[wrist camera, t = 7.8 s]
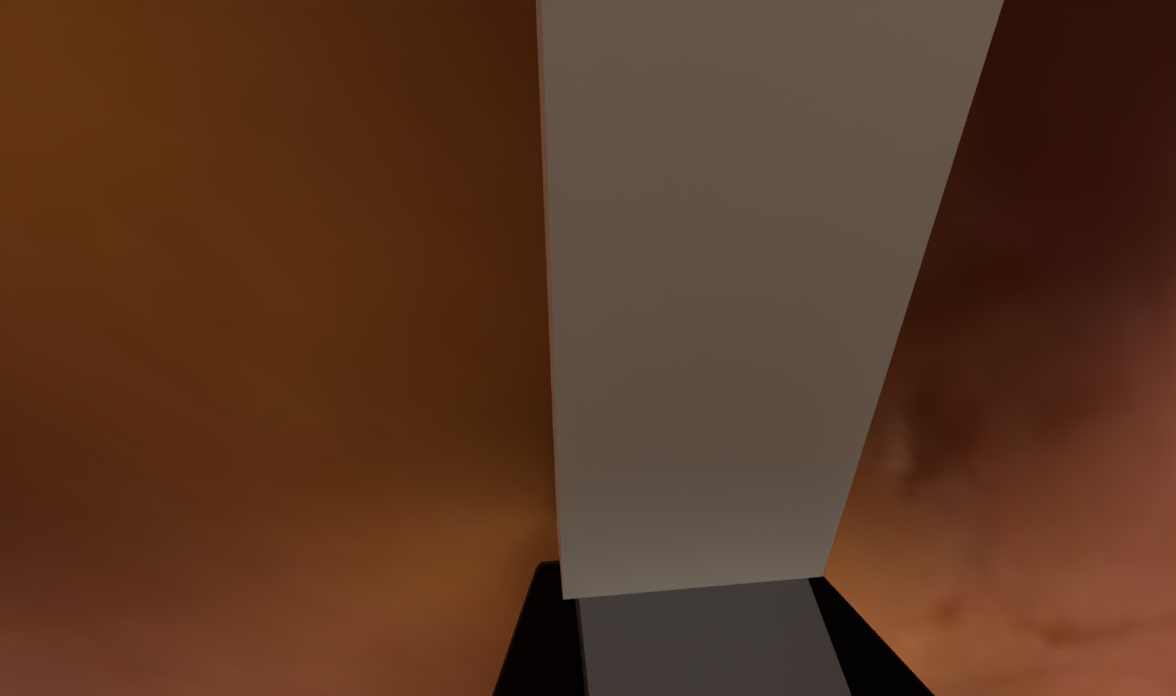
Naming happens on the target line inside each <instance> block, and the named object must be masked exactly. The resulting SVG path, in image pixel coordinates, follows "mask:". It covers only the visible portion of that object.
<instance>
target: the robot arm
mask: <svg viewBox="0 0 1176 696" xmlns="http://www.w3.org/2000/svg"><path fill="white" fill-rule="evenodd" d="M808 581H809V583H810V586H811V589H812V591H813V594H814V597H815V599H816V602H817V605H818V607H819V610H820V613H821V615H822V618H823V621H824V623H825V626H826V629H827V631H828V634H829V637H830V640H831V642H832V645H833V648H834V650H835V653H836V656H837V658H838V661H839V664H840V666H841V669H842V672H843V674H844V677H845V680H846V682H847V685H848V688H849V690H850V693H851V696H935V695H934V694H933V693H932V692H931V691H930V690H929V689H928V688H927V687H926V686H925V685H924V684H923V683H922V681H921V680H920V679H919V678H918V677H917V676H916V675H915V674H914V673H913V672H912V671H911V670H910V669H909V667H908V666H907V665H906V664H905V663H904V662H903V661H902V660H901V659H900V658H899V657H898V656H897V655H896V654H895V652H894V651H893V650H892V649H891V648H890V647H889V646H888V645H887V644H886V643H885V642H884V641H883V640H882V638H881V637H880V636H879V635H878V634H877V633H876V632H875V631H874V630H873V629H872V628H871V627H870V626H869V625H868V623H867V622H866V621H865V620H864V619H863V618H862V617H861V616H860V615H859V614H858V613H857V612H856V611H855V610H854V608H853V607H852V606H851V605H850V604H849V603H848V602H847V601H846V600H845V599H844V598H843V597H842V596H841V594H840V593H839V592H838V591H837V590H836V589H835V588H834V587H833V586H832V585H831V584H830V583H829V582H828V581H827V579H826V578H825V577H824V576H823V577H813V578H808ZM492 696H584V679H583V669H582V659H581V650H580V641H579V632H578V623H577V614H576V605H575V599H563V593H562V582H561V570H560V560H555V561H543V562H541V563H539V564H538V565H537V567H536V569H535V572H534V575H533V578H532V580H531V583H530V586H529V589H528V592H527V595H526V598H525V601H524V604H523V607H522V610H521V613H520V616H519V618H518V621H517V624H516V627H515V630H514V633H513V636H512V639H511V642H510V645H509V648H508V651H507V654H506V656H505V659H504V662H503V665H502V668H501V671H500V674H499V677H498V680H497V683H496V686H495V689H494V692H493V694H492Z"/></svg>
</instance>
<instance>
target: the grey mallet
mask: <svg viewBox="0 0 1176 696" xmlns="http://www.w3.org/2000/svg"><path fill="white" fill-rule="evenodd" d="M1003 2H1004V0H536V18H537V42H538V67H539V92H540V117H541V142H542V167H543V192H544V217H545V241H546V266H547V291H548V316H549V341H550V366H551V391H552V416H553V441H554V465H555V490H556V515H557V535H558V547H559V558H560V570H561V582H562V593H563V599H575V605H576V614H577V623H578V632H579V641H580V650H581V659H582V669H583V679H584V696H851V693H850V690H849V688H848V685H847V682H846V680H845V677H844V674H843V672H842V669H841V666H840V664H839V661H838V658H837V656H836V653H835V650H834V648H833V645H832V642H831V640H830V637H829V634H828V631H827V629H826V626H825V623H824V621H823V618H822V615H821V613H820V610H819V607H818V605H817V602H816V599H815V597H814V594H813V591H812V589H811V586H810V583H809V581H808V578H813V577H823V574H824V571H825V568H826V565H827V561H828V558H829V555H830V552H831V549H832V546H833V542H834V539H835V536H836V533H837V530H838V526H839V523H840V520H841V517H842V514H843V511H844V507H845V504H846V501H847V498H848V495H849V491H850V488H851V485H852V482H853V479H854V476H855V472H856V469H857V466H858V463H859V460H860V456H861V453H862V450H863V447H864V444H865V441H866V437H867V434H868V431H869V428H870V425H871V421H872V418H873V415H874V412H875V409H876V406H877V402H878V399H879V396H880V393H881V390H882V386H883V383H884V380H885V377H886V374H887V371H888V367H889V364H890V361H891V358H892V355H893V351H894V348H895V345H896V342H897V339H898V336H899V332H900V329H901V326H902V323H903V320H904V316H905V313H906V310H907V307H908V304H909V301H910V297H911V294H912V291H913V288H914V285H915V281H916V278H917V275H918V272H919V269H920V266H921V262H922V259H923V256H924V253H925V250H926V246H927V243H928V240H929V237H930V234H931V231H932V227H933V224H934V221H935V218H936V215H937V211H938V208H939V205H940V202H941V199H942V196H943V192H944V189H945V186H946V183H947V180H948V177H949V173H950V170H951V167H952V164H953V161H954V157H955V154H956V151H957V148H958V145H959V142H960V138H961V135H962V132H963V129H964V126H965V122H966V119H967V116H968V113H969V110H970V107H971V103H972V100H973V97H974V94H975V91H976V87H977V84H978V81H979V78H980V75H981V72H982V68H983V65H984V62H985V59H986V56H987V52H988V49H989V46H990V43H991V40H992V37H993V33H994V30H995V27H996V24H997V21H998V17H999V14H1000V11H1001V8H1002V5H1003Z"/></svg>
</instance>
